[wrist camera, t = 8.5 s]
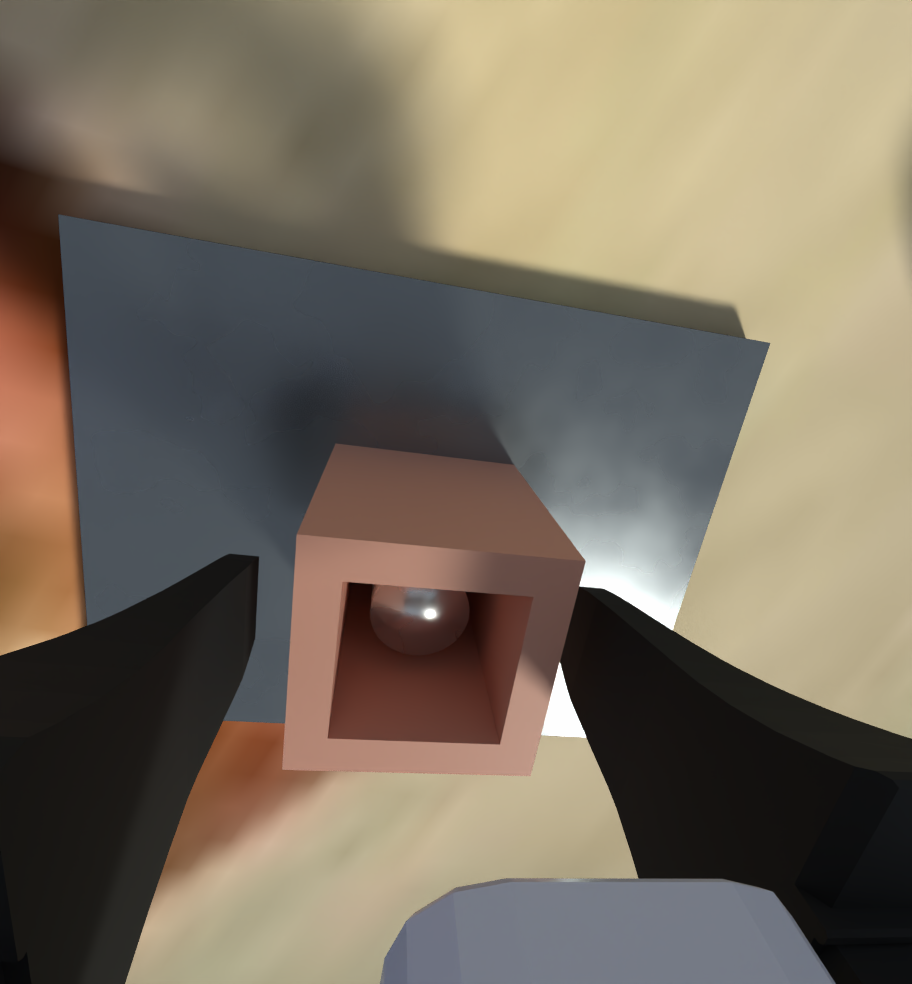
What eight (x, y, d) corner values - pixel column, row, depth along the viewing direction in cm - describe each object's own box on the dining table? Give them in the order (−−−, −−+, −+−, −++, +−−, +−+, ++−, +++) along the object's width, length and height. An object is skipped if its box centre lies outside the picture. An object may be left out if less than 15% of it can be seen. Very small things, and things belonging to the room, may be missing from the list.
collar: (322, 604, 16) (282, 769, 10) (335, 443, 14) (296, 534, 9) (484, 615, 17) (530, 776, 11) (514, 464, 15) (585, 561, 9)
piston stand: (110, 692, 17) (2, 837, 12) (83, 220, 13) (-99, 172, 8) (623, 719, 20) (693, 846, 15) (747, 340, 16) (899, 356, 11)
